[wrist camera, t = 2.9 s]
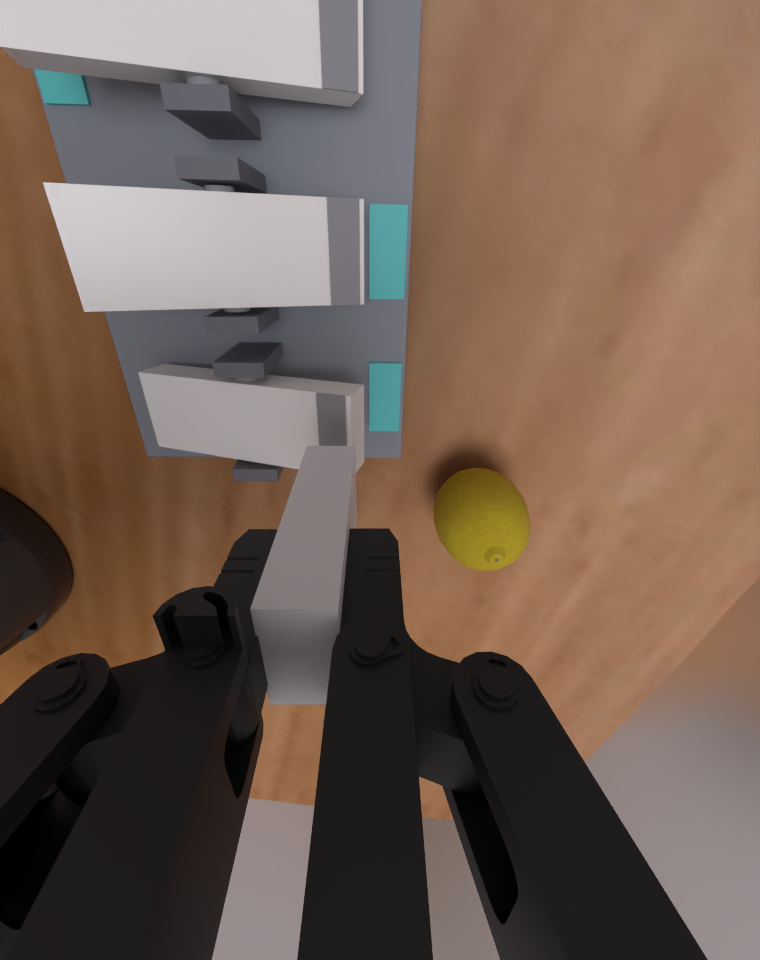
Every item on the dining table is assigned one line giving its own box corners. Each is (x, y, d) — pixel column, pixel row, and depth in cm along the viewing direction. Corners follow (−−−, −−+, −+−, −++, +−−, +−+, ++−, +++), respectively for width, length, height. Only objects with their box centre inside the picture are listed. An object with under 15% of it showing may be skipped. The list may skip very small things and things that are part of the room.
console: (177, 428, 26) (107, 495, 19) (60, -44, 16) (-175, -262, 9) (397, 430, 26) (406, 495, 19) (414, -31, 16) (446, -233, 10)
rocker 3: (182, 437, 21) (158, 450, 20) (163, 359, 19) (135, 368, 18) (364, 465, 19) (351, 483, 17) (364, 379, 17) (349, 391, 15)
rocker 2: (97, 311, 15) (85, 318, 14) (57, 180, 13) (38, 173, 12) (353, 304, 18) (364, 309, 17) (351, 196, 16) (364, 192, 15)
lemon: (411, 475, 28) (425, 550, 21) (483, 432, 27) (523, 498, 20) (451, 528, 30) (475, 611, 23) (519, 491, 29) (566, 569, 22)
